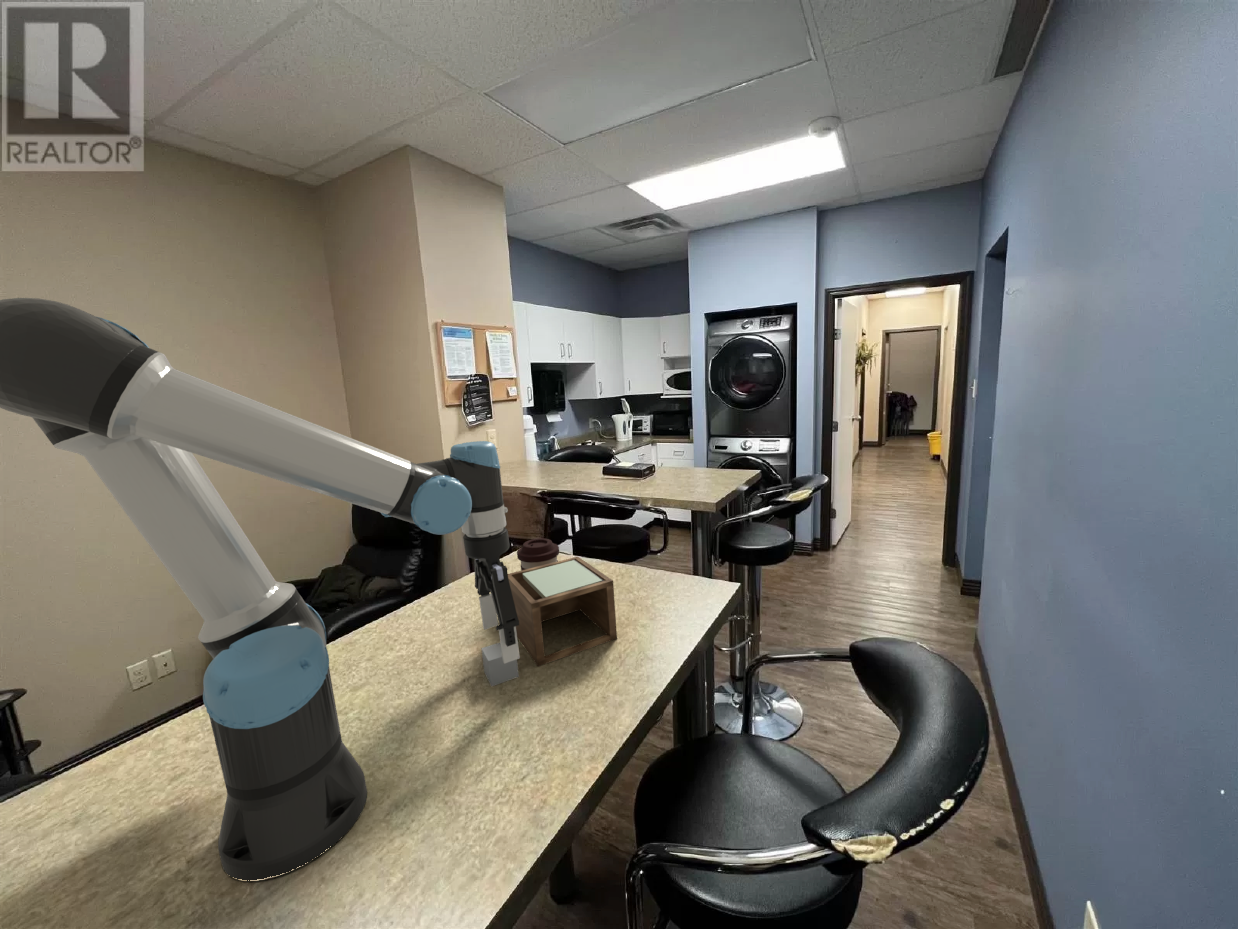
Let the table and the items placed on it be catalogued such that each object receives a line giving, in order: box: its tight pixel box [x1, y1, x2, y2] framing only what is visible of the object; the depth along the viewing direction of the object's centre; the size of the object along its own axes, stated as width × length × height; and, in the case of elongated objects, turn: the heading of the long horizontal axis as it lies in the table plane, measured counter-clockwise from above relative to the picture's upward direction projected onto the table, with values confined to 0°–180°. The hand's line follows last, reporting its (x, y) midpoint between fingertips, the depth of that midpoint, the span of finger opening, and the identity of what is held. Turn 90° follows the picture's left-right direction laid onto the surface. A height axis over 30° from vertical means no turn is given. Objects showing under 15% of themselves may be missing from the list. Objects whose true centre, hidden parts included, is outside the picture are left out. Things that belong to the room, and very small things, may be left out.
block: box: [481, 642, 520, 687], centre depth 87 cm, size 5×5×5 cm
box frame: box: [508, 556, 618, 667], centre depth 100 cm, size 17×17×12 cm
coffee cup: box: [516, 537, 560, 571], centre depth 115 cm, size 10×10×15 cm
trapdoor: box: [523, 560, 604, 598], centre depth 99 cm, size 12×14×1 cm
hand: (500, 642), depth 87 cm, fingers open, 13 cm apart
